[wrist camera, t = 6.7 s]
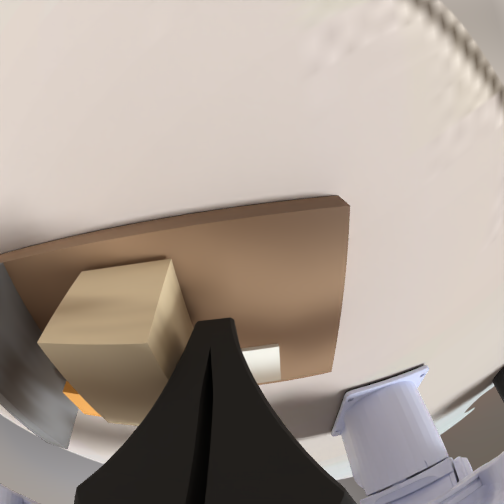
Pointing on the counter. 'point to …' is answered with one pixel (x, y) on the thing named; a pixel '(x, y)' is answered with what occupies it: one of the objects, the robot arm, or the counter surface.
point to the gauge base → (187, 293)
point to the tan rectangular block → (120, 337)
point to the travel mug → (500, 383)
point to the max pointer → (78, 400)
